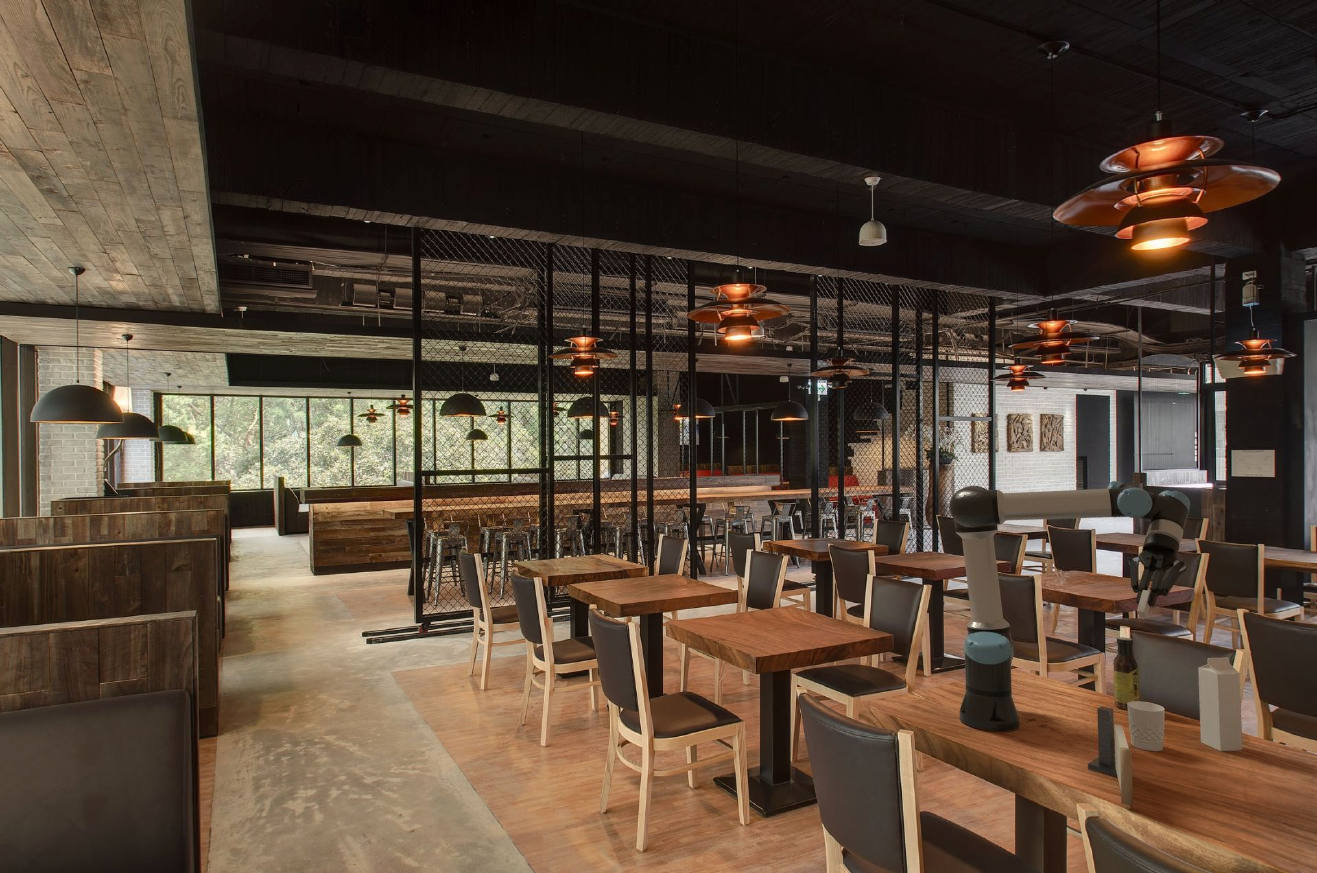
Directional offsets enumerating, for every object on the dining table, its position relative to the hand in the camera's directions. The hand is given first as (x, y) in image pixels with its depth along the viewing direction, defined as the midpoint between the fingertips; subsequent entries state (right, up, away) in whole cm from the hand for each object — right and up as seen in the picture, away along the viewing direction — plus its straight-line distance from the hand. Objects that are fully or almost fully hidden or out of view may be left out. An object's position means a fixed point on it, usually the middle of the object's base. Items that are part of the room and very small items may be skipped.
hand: (1141, 614), depth 181 cm
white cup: (+4, -34, +5) cm, 35 cm away
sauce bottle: (+18, -35, +34) cm, 52 cm away
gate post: (-14, -34, -9) cm, 38 cm away
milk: (+23, -34, +4) cm, 41 cm away
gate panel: (-18, -32, -21) cm, 42 cm away
